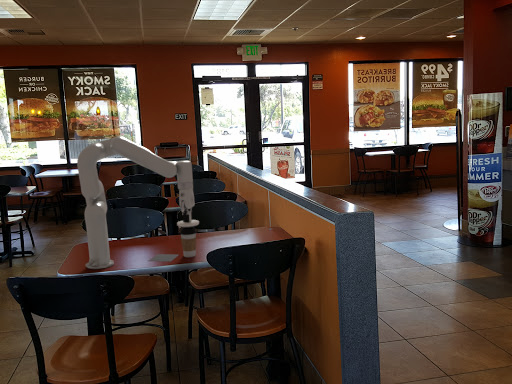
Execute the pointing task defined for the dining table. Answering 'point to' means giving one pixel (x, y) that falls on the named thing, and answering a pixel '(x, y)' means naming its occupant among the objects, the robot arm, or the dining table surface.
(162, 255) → the mat
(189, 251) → the coffee cup
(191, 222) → the lid
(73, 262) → the dining table surface
